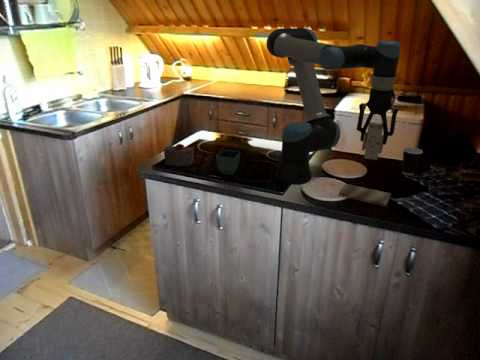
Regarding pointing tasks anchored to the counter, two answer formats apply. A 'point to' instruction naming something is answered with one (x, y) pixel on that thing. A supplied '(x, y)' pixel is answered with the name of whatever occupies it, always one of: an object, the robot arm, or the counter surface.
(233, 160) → the flower pot
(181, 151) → the food item
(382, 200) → the birch board
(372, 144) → the ink cartridge box
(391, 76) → the robot arm
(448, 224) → the counter surface
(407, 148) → the dixie cup
